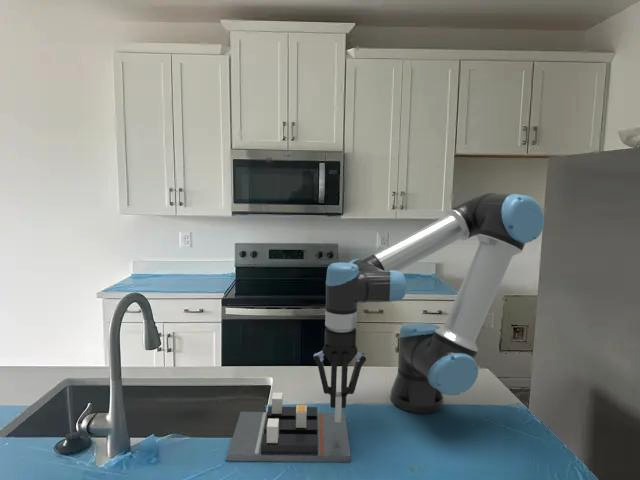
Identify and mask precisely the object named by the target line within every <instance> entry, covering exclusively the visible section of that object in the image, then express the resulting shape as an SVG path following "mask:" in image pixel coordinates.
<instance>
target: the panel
mask: <svg viewBox="0 0 640 480" xmlns="http://www.w3.org/2000/svg"><path fill="white" fill-rule="evenodd" d="M296 407H297V406H282V414H272V405H271V406H268V408H267V411H240V412H239V415H238V416H239V417H238V420H237V423H236V425H235V426H236V427H235V429H234V433H233V435H232V438H231V442H230V445H229V449H228V451H227V454H226V455H227V458H226V461H227V462H283V463H284V462H287V463H288V462H291V463H292V462H294V463H296V462H299V463H304V462H305V463H306V462H307V463H308V462H309V463H351V459H352V455H351V446H350V439H349V435H348V434H349V433H348V427H347V425H348V424H347V418H346V413H345V412H341V422H335V418H334V413H335V412H318V407H317V406H307V413H306V428H296ZM268 418H270V419H279V437H278V443H267V423H268Z"/></svg>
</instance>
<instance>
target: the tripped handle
mask: <svg viewBox="0 0 640 480" xmlns="http://www.w3.org/2000/svg"><path fill="white" fill-rule="evenodd" d="M295 407H296V428H306V413H307V407H308V406H307V404H296V406H295Z"/></svg>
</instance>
